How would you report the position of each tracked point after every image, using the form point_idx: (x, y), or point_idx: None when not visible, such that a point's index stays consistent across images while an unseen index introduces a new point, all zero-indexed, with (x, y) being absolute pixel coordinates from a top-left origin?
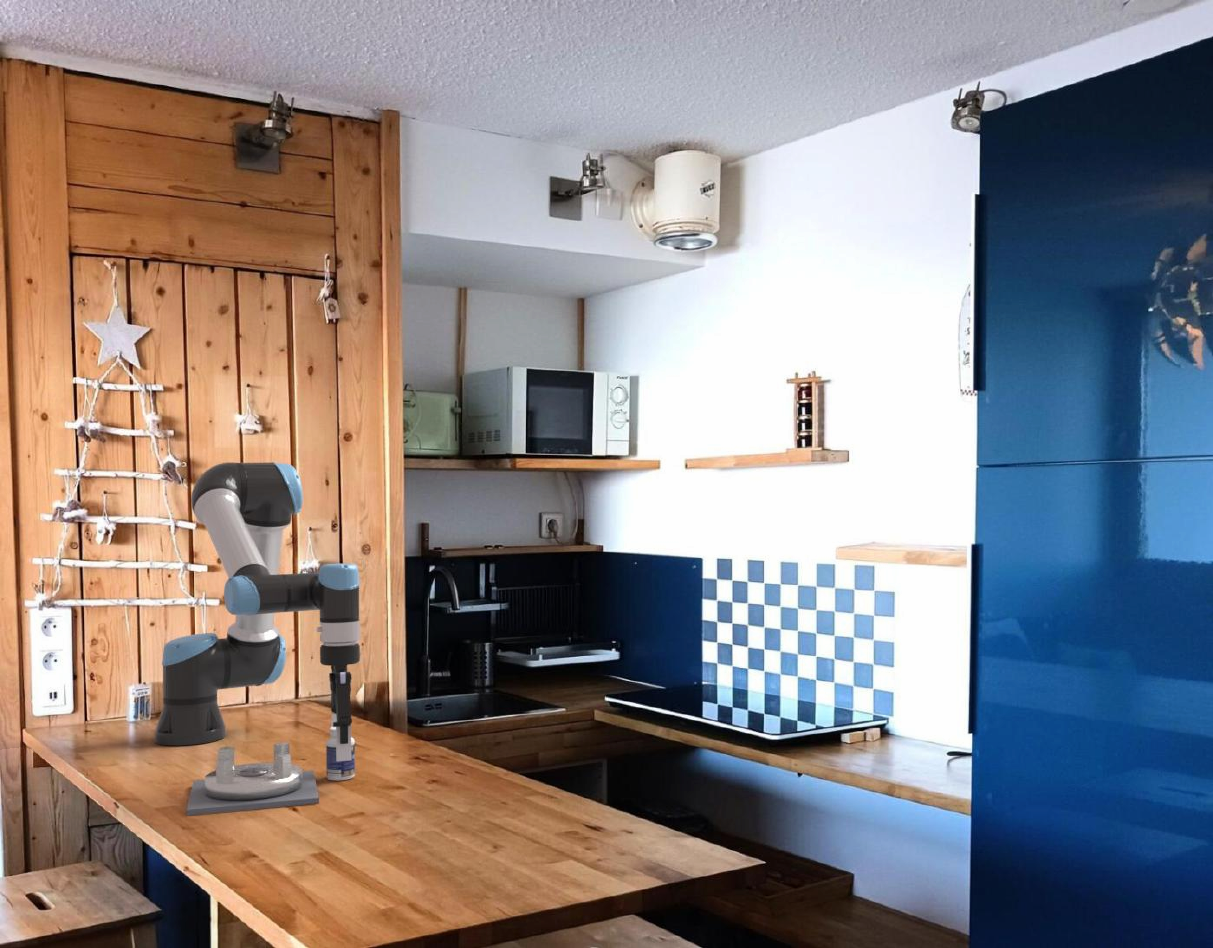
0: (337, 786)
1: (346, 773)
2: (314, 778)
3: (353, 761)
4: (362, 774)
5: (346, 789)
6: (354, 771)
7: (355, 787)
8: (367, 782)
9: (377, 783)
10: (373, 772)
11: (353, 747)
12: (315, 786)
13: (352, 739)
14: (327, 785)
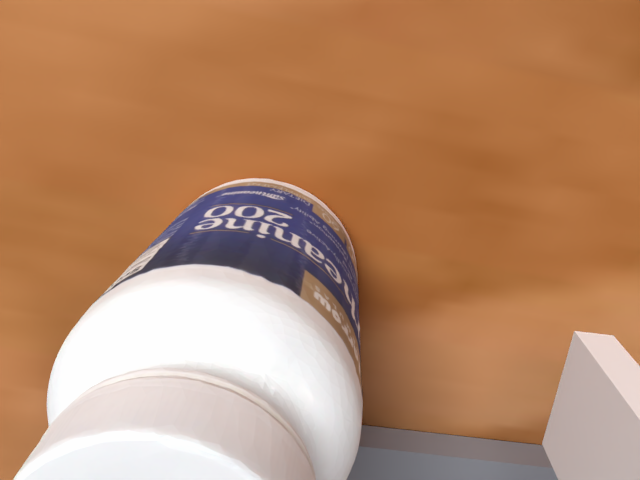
0: (479, 323)
1: (355, 265)
2: None
3: (310, 232)
4: (223, 110)
5: (590, 289)
6: (296, 195)
7: (574, 228)
8: (483, 124)
9: (555, 60)
10: (192, 16)
11: (299, 281)
12: (554, 474)
13: (262, 327)
14: (420, 369)
